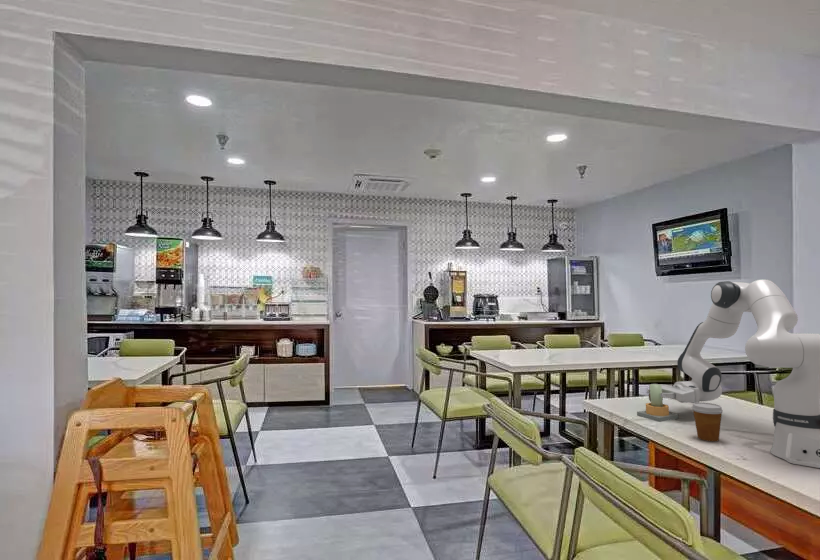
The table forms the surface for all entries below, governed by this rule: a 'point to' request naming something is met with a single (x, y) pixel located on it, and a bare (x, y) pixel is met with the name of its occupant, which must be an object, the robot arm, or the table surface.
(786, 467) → the table surface
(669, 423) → the table surface
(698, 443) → the table surface
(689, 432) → the table surface
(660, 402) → the pale green cylinder
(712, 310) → the robot arm
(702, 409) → the disposable coffee cup
